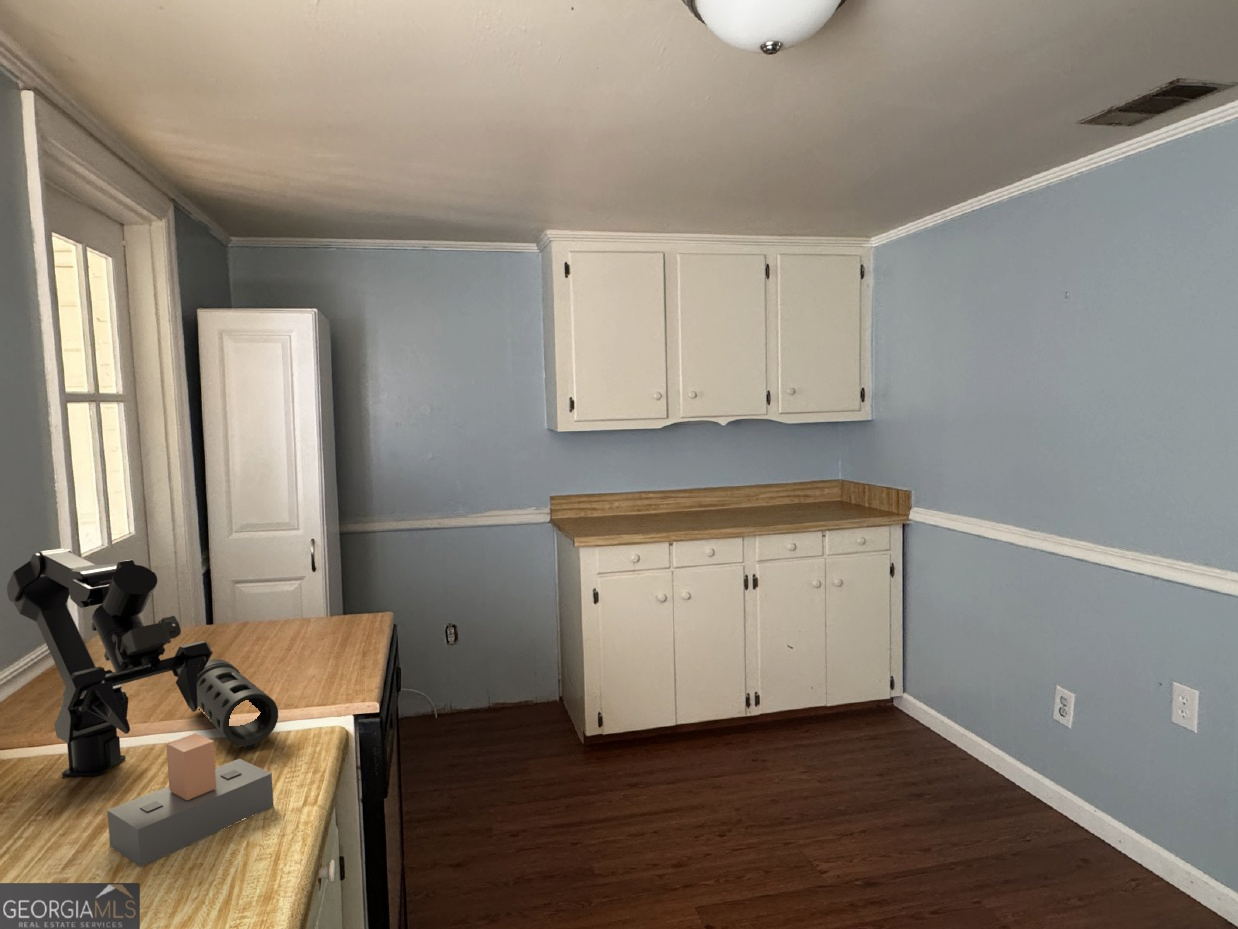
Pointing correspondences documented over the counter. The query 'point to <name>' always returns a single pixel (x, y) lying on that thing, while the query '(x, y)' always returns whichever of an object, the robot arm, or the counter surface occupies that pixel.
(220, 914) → the counter surface
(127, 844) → the socket block
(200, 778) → the plug
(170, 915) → the counter surface
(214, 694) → the muzzle brake
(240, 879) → the counter surface
